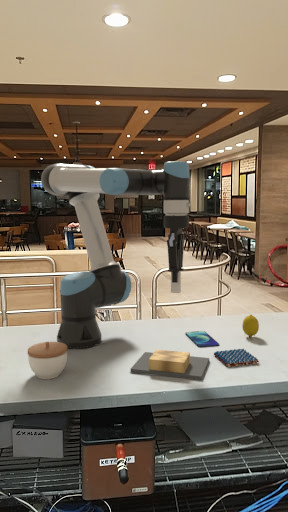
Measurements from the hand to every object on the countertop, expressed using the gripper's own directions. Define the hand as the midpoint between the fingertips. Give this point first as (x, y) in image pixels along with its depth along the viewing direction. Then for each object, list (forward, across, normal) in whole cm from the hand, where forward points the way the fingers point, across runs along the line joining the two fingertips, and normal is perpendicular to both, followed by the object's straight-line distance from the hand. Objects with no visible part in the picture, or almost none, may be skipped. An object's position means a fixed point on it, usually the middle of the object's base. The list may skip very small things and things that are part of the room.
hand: (175, 292), depth 130 cm
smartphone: (+21, +17, -5) cm, 27 cm away
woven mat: (+20, +1, -18) cm, 28 cm away
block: (+17, -8, -1) cm, 19 cm away
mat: (+20, -10, -1) cm, 22 cm away
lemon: (+20, +24, -21) cm, 38 cm away
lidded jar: (+20, -25, +30) cm, 44 cm away
